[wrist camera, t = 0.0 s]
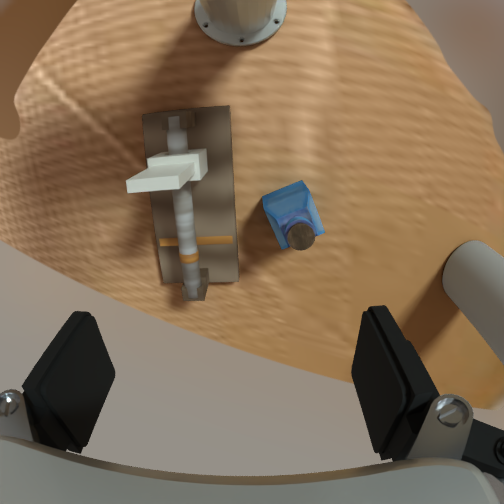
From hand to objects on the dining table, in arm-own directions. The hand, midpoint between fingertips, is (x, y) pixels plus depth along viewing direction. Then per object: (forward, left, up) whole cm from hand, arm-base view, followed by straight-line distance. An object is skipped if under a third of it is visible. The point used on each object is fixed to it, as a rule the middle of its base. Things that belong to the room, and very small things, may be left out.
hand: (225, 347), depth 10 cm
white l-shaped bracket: (-2, -8, -33) cm, 34 cm away
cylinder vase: (+18, +41, -37) cm, 58 cm away
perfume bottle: (+6, +6, -37) cm, 38 cm away
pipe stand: (+4, -8, -37) cm, 38 cm away
